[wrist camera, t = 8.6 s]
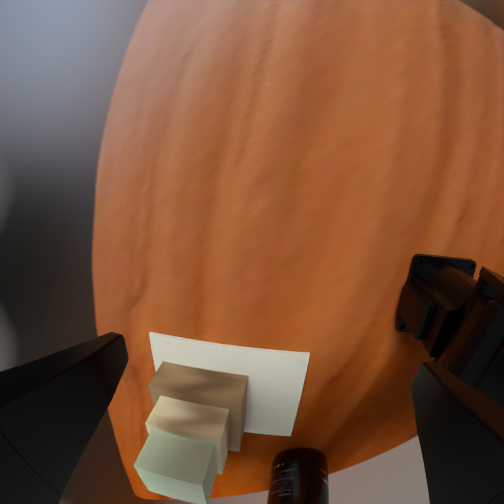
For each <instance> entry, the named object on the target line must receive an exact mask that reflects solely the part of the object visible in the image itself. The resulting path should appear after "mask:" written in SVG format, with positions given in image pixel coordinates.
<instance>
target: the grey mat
mask: <svg viewBox="0 0 504 504" xmlns="http://www.w3.org/2000/svg"><path fill="white" fill-rule="evenodd" d="M149 336H150V343H151V348H152V354H153V359H154V365H155V370H156V371H157V370H158V368H159V367H160V365H161V363H162V362H163V361H165V362H169V363H174V364H179V365H184V366H189V367H195V368H200V369H206V370H212V371H219V372H225V373H232V374H240V375H248V381H247V399H246V417H245V429H244V432H249V433H257V434H267V435H279V436H291V433H292V430H293V426H294V422H295V418H296V414H297V410H298V406H299V402H300V398H301V393H302V389H303V385H304V380H305V376H306V371H307V366H308V362H309V357H310V353H309V352H294V351H282V350H271V349H261V348H251V347H243V346H235V345H227V344H220V343H213V342H206V341H200V340H193V339H187V338H182V337H176V336H170V335H165V334H160V333H155V332H150V333H149Z"/></svg>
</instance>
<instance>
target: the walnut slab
mask: <svg viewBox="0 0 504 504" xmlns="http://www.w3.org/2000/svg"><path fill="white" fill-rule="evenodd" d="M247 381H248V375H240V374H232V373H225V372H219V371H212V370H206V369H200V368H195V367H189V366H184V365H179V364H174V363H169V362H165V361H163V362H162V363H161V365H160V367H159V368H158V370H157V371H156V373H155V375H154V376H153V378H152V379H151V381H150V383H149V384H148V386H149V390H150V394H151V398H152V402H153V405H154V406H155V405H156V403H157V401H158V399H159V397H160V395H161V396H165V397H169V398H173V399H178V400H182V401H187V402H191V403H196V404H201V405H207V406H212V407H218V408H224V409H229V442H230V446H229V451H235V452H240V449H241V444H242V439H243V434H244V429H245V417H246V399H247Z"/></svg>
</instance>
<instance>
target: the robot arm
mask: <svg viewBox="0 0 504 504" xmlns="http://www.w3.org/2000/svg"><path fill="white" fill-rule="evenodd" d="M418 259H420V262H419V263H417V260H418ZM471 264H472V265H471ZM470 265H471V267H470ZM475 269H476V262H475V261H473V260H471V259H464V258H455V257H445V256H436V255H426V254H416V255H415V256H414V257H413V259H412V263H411V268H410V272H409V277H408V280H407V281H406V282H405V286H404V290H403V294H402V298H401V301H400V305H399V309H398V312H399V315H398V318H397V321H396V329H397V330H398V331H399V332H412V333H413V335H414V337H415V338H416V340H420V341H421V342H422V344H423V346H424V347H425V349H426V350H427V352H428V354H429V355H430V357H436V358H435V360H434V361H433V362H424V363H422V364H421V365H420V367H419V369H418V371H417V374H416V376H415V378H414V380H413V382H412V387H411V390H412V397H413V404H414V411H415V419H416V426H417V432H418V437H419V441H420V446H421V451H422V455H423V461H424V467H425V473H426V479H427V485H428V492H429V500H430V504H504V277H503V276H501V275H499V274H497V273H495V272H493V271H491V270H489V269H487V268H485V267H483V266H482V268H481V270H480V273H479V275H480V276H479V279H478V281H476V280H475V279H473V276H474V272H475ZM402 324H403V326H402V327H400V325H402ZM127 363H128V352H127V347H126V343H125V339H124V337H123V335H121V334H118V333H114V332H110V333H107V334H104V335H102V336H99V337H96V338H94V339H91V340H89V341H86V342H83V343H80V344H78V345H75V346H72V347H69V348H67V349H64V350H61V351H59V352H56V353H53V354H50V355H47V356H45V357H42V358H39V359H36V360H33V361H30V362H28V363H25V364H22V365H20V366H16V367H13V368H10V369H7V370H4V371H1V372H0V504H59V502H60V500H61V498H62V495H63V493H64V491H65V489H66V487H67V485H68V483H69V481H70V479H71V476H72V475H73V473H74V471H75V469H76V467H77V465H78V463H79V461H80V459H81V457H82V455H83V453H84V451H85V449H86V447H87V445H88V443H89V441H90V439H91V437H92V435H93V434H94V432H95V430H96V428H97V426H98V424H99V422H100V421H101V419H102V417H103V415H104V413H105V411H106V410H107V408H108V406H109V404H110V402H111V400H112V398H113V396H114V394H115V391H116V389H117V386H118V384H119V382H120V379H121V377H122V375H123V372H124V370H125V368H126V365H127Z"/></svg>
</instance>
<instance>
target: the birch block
mask: <svg viewBox="0 0 504 504" xmlns="http://www.w3.org/2000/svg"><path fill="white" fill-rule="evenodd" d="M145 425H146V427H147V430H148V433H149V434H150V433H151V431H152V429H156V430H159V431H163V432H166V433H170V434H174V435H178V436H182V437H186V438H190V439H195V440H199V441H204V442H209V443H214V444H215V455H216V466H217V472H216V473H219V474H223V470H224V466H225V462H226V458H227V454H228V450H229V446H230V442H229V409H224V408H218V407H212V406H207V405H201V404H196V403H191V402H187V401H182V400H178V399H173V398H169V397H165V396H161V395H160V397H159V399H158V401H157V403H156V405H155V406H154V408H153V410H152V412H151V414H150V416H149V417H148V419H147V421H146V423H145Z"/></svg>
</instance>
